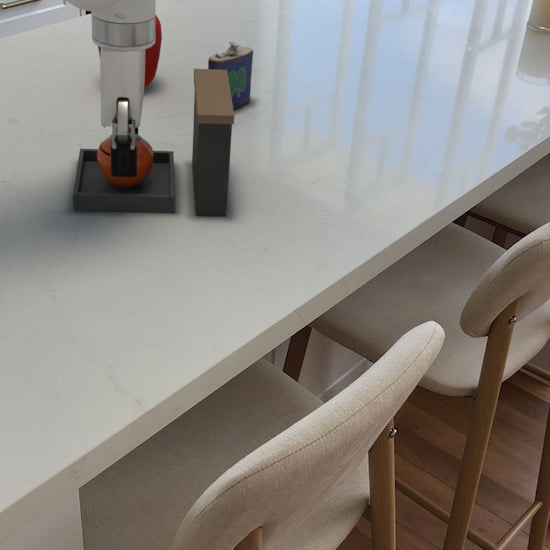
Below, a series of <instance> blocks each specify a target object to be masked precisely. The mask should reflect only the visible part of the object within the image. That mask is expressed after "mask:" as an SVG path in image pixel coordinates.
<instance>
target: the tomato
mask: <svg viewBox="0 0 550 550" xmlns="http://www.w3.org/2000/svg"><path fill="white" fill-rule="evenodd" d="M128 135H130V138H131V132H129V130H128ZM111 146H112V134H110V135H109V137H108V136H107V138H105V139H104V140H103V141H102V142H100V144H99V146H98V148H97V149H98V150H97V161H98V165H99V168H100V171H101V173H102V174H103V176H104V177H105V179H106V180H107V181H108V182H109V183H111V184H112V185H113V186H114V187H116V188H120V189H131V188H134V187H137V186H139V185H140V184H141V183H142V182H143V181H144V180H145V179H146V178H147V177H148V175H149V173H150V171H151V168H152V166H153V162H154V152H153V151H154V150H153V147H152V145H151V144H150V143H149V142H148V141H147V140H146V139H145V138H143V137H142V135H140V134H139V133H138V134H135V147H137V176H136V177H114V176H112V175H111Z"/></svg>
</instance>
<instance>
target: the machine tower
mask: <svg viewBox="0 0 550 550" xmlns="http://www.w3.org/2000/svg"><path fill="white" fill-rule="evenodd" d="M193 84H194V85H193V86H194V87H193V88H194V98H193V99H194V100H193V101H194V102H193V126H192V127H193V129H192V153H191V155H192V156H191V166H192V167H191V168H192V169H191V170H192V186H193V202H194V203H193V204H194V216H196V217H227V213H228V211H227V210H228V195H229V179H230V163H231V149H232V147H231V146H232V135H233V134H232V131H233V125H234V124H235V112H234V110H233V104H232V98H231V91H230V85H229V79H228V73H227V70H216V69H208V68H193Z"/></svg>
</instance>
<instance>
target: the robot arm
mask: <svg viewBox="0 0 550 550" xmlns="http://www.w3.org/2000/svg"><path fill="white" fill-rule="evenodd" d="M64 1H65V2H67V3H69V4H70V5H72V6H74V7H76V8H78V9H80V10H82V11H87V12H91V14H90V16H91V17H90V18H91V41H92V42H93V44H95V45H96V46H97V47H98V46H99V47H101V55H99V63H100V64H99V73H100V75H99V78H100V81H99V83H100V88H99V89H100V125H101V126H102V127H103V128H107V127H111V128H112V130H111V131H112V134H111V135H112V146H111V175H112V176H114V177H136V176H137V147H135V134H138V135H139V127H140V126H141V121H142V115H143V114H142V112H143V106H144V94H145V89H144V82H145V49H147V48H150V47H152V46H153V45H154V44H155V19H156V16H157V14H156V3H157V2H156V1H157V0H64ZM155 14H156V15H155ZM128 130H129V132H131V138H130V135H128Z"/></svg>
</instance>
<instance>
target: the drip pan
mask: <svg viewBox="0 0 550 550" xmlns="http://www.w3.org/2000/svg"><path fill="white" fill-rule="evenodd" d="M97 150H98V148H80V149H79V153H78V160H77V166H76V172H75V176H74V177H75V179H74V184H73V189H72V205H73V206H72V208H73V212H105V213H106V212H107V213H108V212H109V213H110V212H111V213H112V212H113V213H114V212H115V213H160V214H161V213H167V214H174V213H175V210H176V209H175V208H176V207H175V206H176V205H175V203H176V202H175V201H176V193H175V191H176V190H175V189H176V188H175V158H174V157H175V156H174V155H175V154H174V153H175V152H174V151H173V150H153V152H154V162H153V166H152V168H151V171H150V173H149V175H148V177H147V178H146V179H145V180H144V181H143V182H142V183H141V184H140V185H139V186H137V187H134V188H131V189H120V188H116V187H114V186H113V185H112V184H111V183H109V182H108V181H107V180H106V179H105V177H104V176H103V174H102V173H101V171H100V168H99V165H98V161H97Z"/></svg>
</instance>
